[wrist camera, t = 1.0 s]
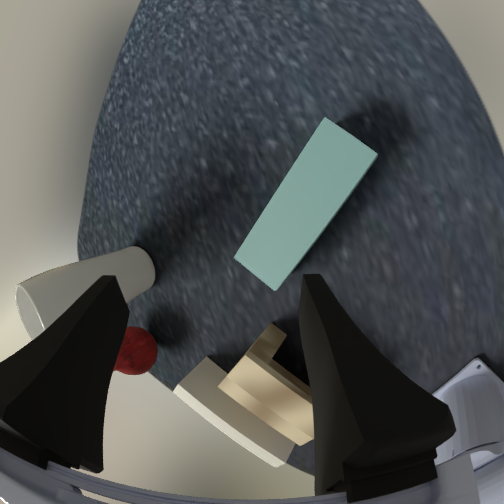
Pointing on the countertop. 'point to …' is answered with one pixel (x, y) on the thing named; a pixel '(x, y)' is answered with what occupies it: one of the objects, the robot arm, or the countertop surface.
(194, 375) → the wall
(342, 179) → the mint green rectangular prism
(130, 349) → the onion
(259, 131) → the countertop surface
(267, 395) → the block
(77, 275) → the drinking glass
